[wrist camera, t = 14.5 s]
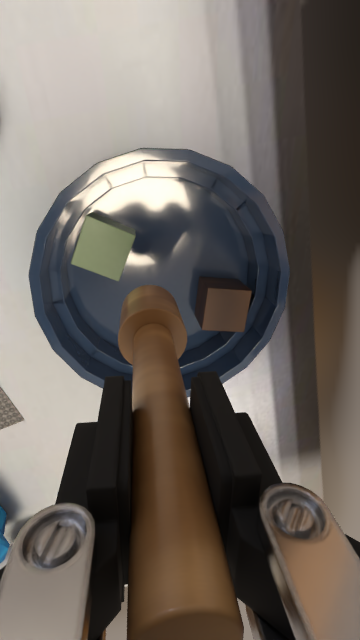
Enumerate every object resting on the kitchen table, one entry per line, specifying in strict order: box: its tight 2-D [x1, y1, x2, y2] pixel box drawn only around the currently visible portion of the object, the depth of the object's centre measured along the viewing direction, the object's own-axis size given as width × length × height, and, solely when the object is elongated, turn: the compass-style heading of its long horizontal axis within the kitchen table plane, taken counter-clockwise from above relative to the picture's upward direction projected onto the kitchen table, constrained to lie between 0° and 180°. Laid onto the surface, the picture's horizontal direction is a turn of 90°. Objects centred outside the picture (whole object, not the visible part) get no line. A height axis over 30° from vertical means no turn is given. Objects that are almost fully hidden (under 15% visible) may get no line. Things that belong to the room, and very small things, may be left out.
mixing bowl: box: [29, 148, 290, 397], centre depth 29 cm, size 21×21×6 cm
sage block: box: [71, 212, 136, 281], centre depth 28 cm, size 4×4×4 cm
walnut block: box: [194, 277, 252, 332], centre depth 31 cm, size 4×4×4 cm
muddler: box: [118, 285, 244, 640], centre depth 12 cm, size 3×3×15 cm
